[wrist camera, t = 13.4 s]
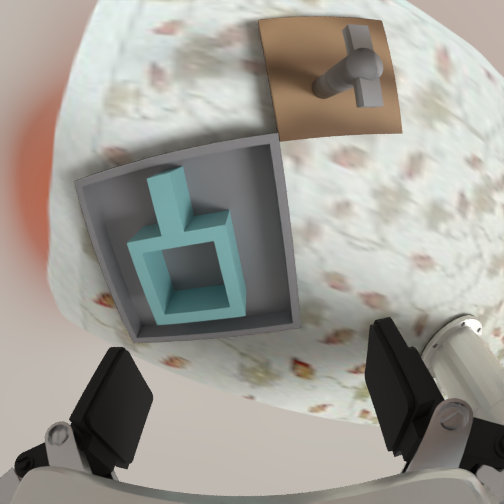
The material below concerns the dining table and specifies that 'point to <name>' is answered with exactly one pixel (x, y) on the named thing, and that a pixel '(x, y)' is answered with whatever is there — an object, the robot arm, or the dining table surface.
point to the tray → (203, 254)
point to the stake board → (313, 60)
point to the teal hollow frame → (182, 234)
